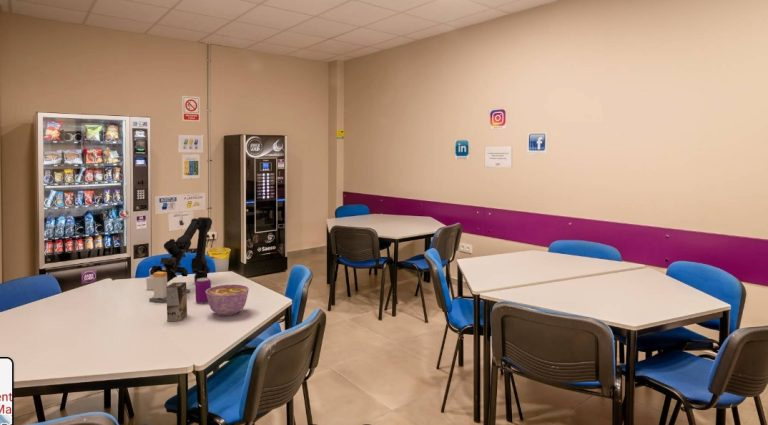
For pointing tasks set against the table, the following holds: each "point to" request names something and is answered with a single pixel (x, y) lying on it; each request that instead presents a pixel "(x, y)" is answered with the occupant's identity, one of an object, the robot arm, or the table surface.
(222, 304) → the bowl of food
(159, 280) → the fader knob
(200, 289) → the beverage can
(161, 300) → the board
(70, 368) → the table surface
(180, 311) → the coffee box
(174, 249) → the robot arm
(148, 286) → the medicine bottle
